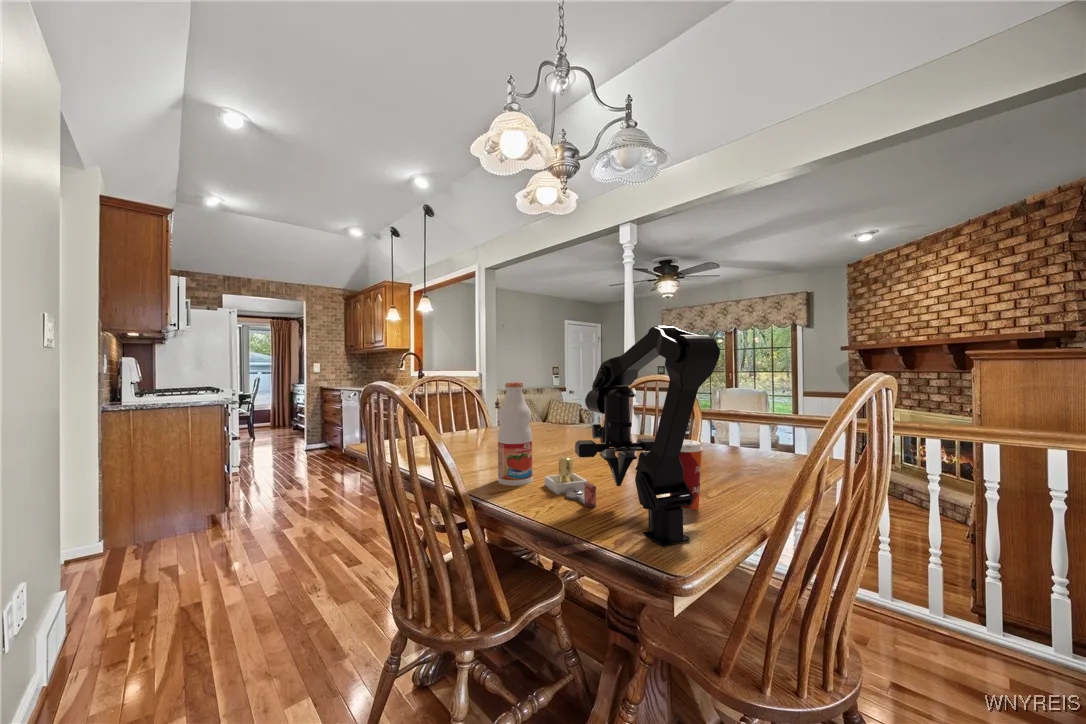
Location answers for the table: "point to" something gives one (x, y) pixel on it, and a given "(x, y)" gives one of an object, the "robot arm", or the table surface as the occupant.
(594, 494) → the crank
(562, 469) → the pin
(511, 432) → the fruit juice
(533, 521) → the table surface
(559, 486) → the tray
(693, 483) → the coffee cup
